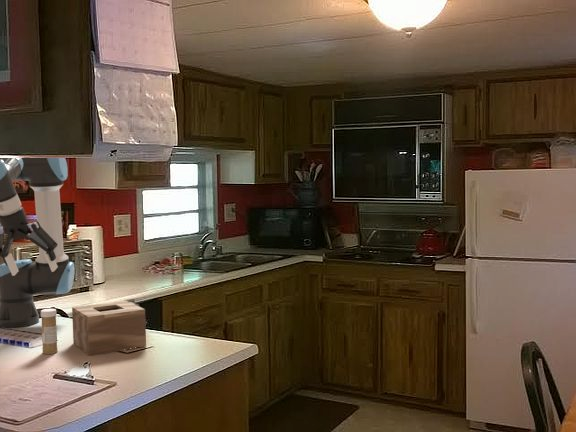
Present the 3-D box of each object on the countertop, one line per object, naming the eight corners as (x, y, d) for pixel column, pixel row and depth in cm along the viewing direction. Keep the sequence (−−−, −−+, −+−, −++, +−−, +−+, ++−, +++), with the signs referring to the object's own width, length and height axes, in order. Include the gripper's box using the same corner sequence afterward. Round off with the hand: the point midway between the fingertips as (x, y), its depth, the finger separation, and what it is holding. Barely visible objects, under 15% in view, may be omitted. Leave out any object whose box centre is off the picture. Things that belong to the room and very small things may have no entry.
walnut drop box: (73, 343, 224) (72, 307, 223) (127, 335, 233) (125, 300, 232) (89, 355, 208) (88, 316, 208) (146, 346, 218) (145, 309, 217)
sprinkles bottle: (44, 350, 215) (42, 308, 214) (59, 350, 215) (57, 307, 214) (40, 354, 210) (38, 311, 209) (56, 354, 211) (54, 310, 210)
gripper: (-35, 220, 202) (-7, 281, 212) (41, 211, 197) (66, 274, 206) (-21, 209, 209) (5, 268, 218) (52, 200, 203) (76, 261, 213)
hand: (35, 271), depth 212 cm, fingers open, 13 cm apart
